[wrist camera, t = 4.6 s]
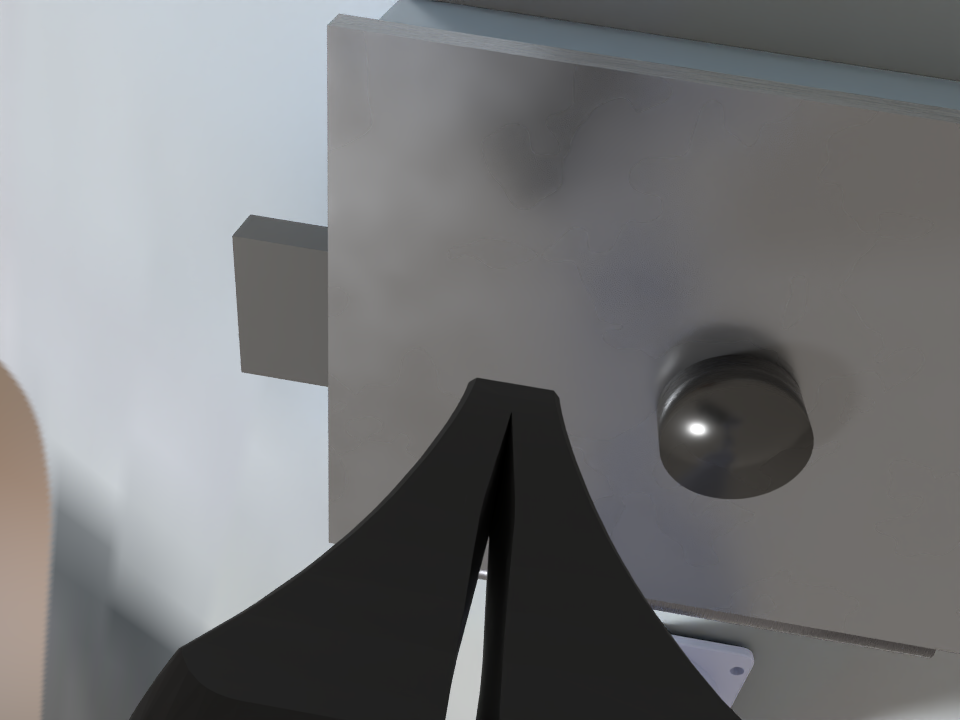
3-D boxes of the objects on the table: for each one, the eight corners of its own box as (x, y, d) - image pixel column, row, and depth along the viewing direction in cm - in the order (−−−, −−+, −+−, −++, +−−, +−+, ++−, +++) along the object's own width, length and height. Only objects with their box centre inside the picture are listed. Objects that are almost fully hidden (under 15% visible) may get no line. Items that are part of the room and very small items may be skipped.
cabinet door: (962, 646, 23) (988, 711, 22) (336, 536, 24) (317, 592, 22) (1361, 172, 14) (1456, 224, 13) (339, 13, 15) (307, 44, 13)
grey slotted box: (1004, 548, 26) (1061, 652, 23) (290, 425, 27) (248, 510, 24) (1307, 135, 18) (1461, 206, 15) (279, -24, 19) (213, 12, 16)
